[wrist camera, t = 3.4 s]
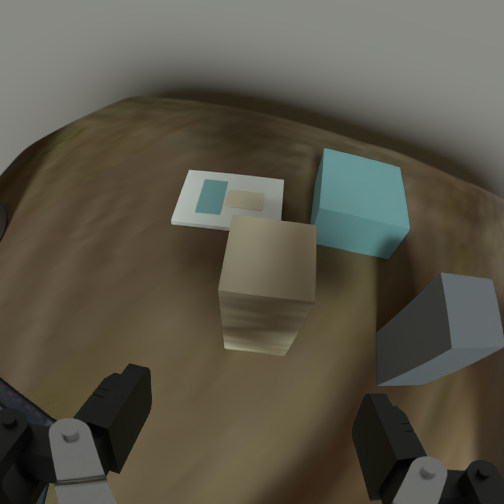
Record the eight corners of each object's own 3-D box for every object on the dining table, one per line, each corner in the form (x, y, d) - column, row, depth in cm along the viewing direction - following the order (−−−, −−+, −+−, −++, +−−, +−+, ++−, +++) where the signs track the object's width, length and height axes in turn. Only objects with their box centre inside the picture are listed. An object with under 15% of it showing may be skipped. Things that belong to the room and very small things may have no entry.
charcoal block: (376, 385, 21) (451, 348, 13) (375, 332, 24) (440, 272, 15) (423, 384, 21) (505, 346, 13) (420, 334, 24) (492, 279, 15)
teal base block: (307, 243, 29) (319, 207, 24) (314, 183, 33) (324, 148, 29) (387, 260, 28) (409, 229, 24) (383, 200, 32) (399, 167, 28)
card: (171, 224, 29) (170, 220, 28) (189, 173, 32) (189, 169, 32) (279, 237, 28) (280, 233, 28) (283, 183, 32) (284, 179, 32)
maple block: (224, 348, 23) (218, 290, 14) (233, 295, 25) (232, 214, 17) (284, 355, 23) (315, 302, 14) (288, 302, 25) (316, 225, 17)
